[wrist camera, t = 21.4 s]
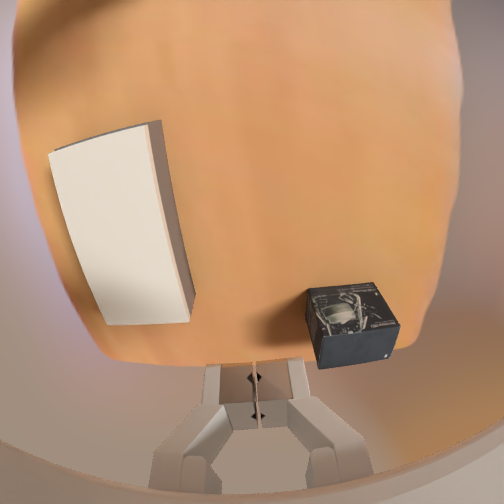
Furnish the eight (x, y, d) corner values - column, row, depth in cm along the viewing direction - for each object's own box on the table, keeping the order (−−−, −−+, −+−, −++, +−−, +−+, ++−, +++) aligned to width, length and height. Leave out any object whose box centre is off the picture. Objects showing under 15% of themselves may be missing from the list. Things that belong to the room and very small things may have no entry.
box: (374, 279, 41) (402, 325, 32) (367, 313, 44) (390, 360, 35) (306, 286, 41) (322, 338, 32) (304, 320, 44) (317, 372, 35)
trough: (71, 143, 30) (49, 151, 25) (161, 119, 29) (147, 122, 25) (117, 298, 41) (106, 319, 37) (195, 293, 41) (190, 316, 36)
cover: (53, 151, 25) (47, 153, 24) (147, 124, 25) (144, 125, 24) (109, 319, 36) (107, 325, 35) (190, 315, 36) (189, 322, 35)
